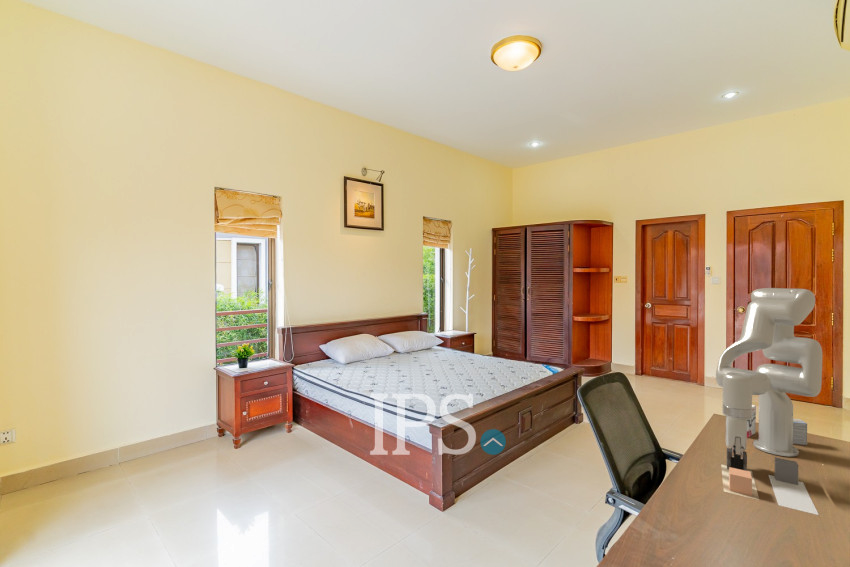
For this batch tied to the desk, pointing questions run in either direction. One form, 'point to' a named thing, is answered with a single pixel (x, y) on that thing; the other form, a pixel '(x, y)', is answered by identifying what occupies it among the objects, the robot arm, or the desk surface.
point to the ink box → (751, 423)
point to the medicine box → (799, 432)
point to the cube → (740, 481)
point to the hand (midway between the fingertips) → (736, 466)
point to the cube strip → (726, 476)
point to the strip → (790, 487)
